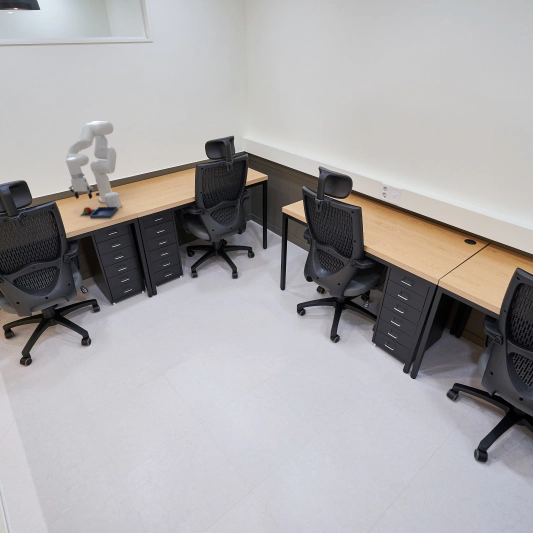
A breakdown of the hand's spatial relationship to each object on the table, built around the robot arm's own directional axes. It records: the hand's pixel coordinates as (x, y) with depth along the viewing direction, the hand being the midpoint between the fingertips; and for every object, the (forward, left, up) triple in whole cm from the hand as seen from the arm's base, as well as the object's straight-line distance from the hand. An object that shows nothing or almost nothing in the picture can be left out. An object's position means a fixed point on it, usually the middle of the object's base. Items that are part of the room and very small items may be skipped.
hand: (84, 198), depth 257 cm
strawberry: (0, 0, -11) cm, 11 cm away
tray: (+2, +13, -12) cm, 18 cm away
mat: (0, 0, -12) cm, 12 cm away
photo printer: (-10, +16, -12) cm, 22 cm away
